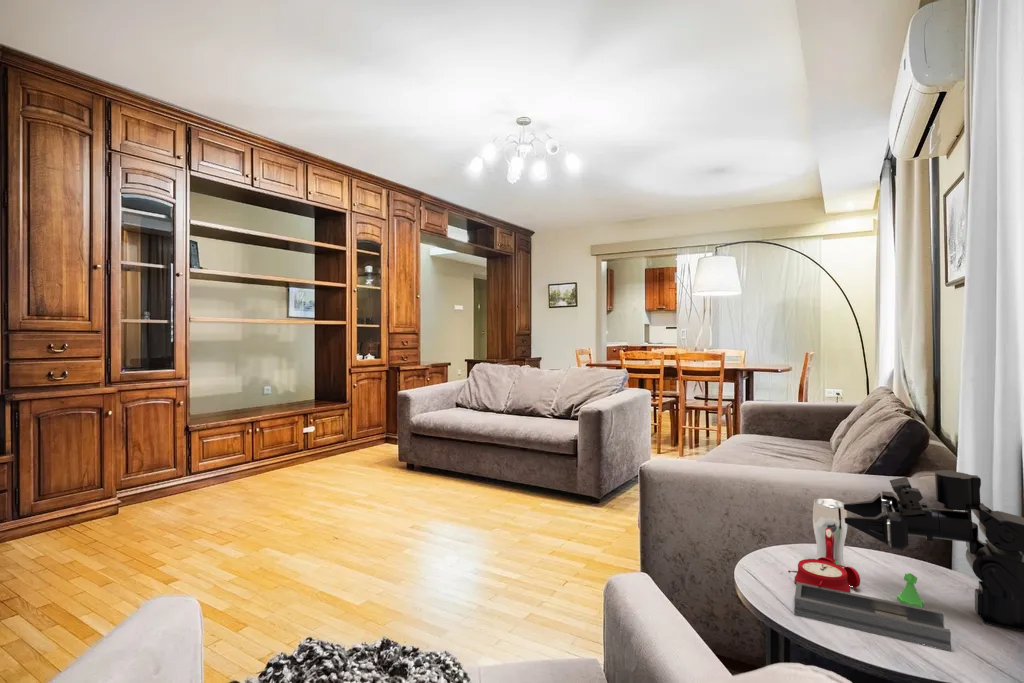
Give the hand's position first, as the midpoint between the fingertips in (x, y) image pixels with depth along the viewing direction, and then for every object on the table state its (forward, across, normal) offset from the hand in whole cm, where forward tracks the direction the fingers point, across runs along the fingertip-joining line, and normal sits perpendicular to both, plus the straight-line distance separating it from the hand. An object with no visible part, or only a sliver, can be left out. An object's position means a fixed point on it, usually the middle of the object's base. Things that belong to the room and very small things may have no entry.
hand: (844, 513), depth 113 cm
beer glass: (+3, -11, +16) cm, 20 cm away
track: (-3, +12, +16) cm, 21 cm away
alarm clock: (+4, 0, +16) cm, 17 cm away
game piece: (-11, 0, +17) cm, 20 cm away
